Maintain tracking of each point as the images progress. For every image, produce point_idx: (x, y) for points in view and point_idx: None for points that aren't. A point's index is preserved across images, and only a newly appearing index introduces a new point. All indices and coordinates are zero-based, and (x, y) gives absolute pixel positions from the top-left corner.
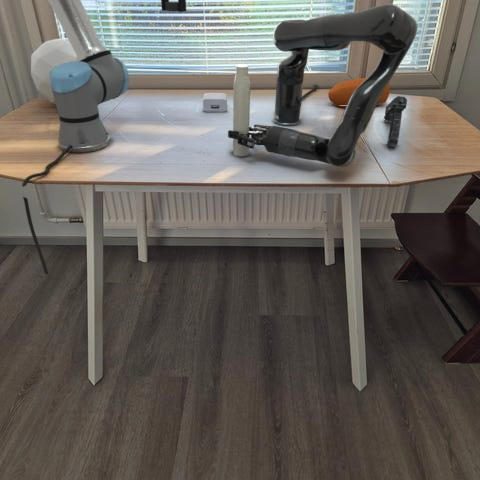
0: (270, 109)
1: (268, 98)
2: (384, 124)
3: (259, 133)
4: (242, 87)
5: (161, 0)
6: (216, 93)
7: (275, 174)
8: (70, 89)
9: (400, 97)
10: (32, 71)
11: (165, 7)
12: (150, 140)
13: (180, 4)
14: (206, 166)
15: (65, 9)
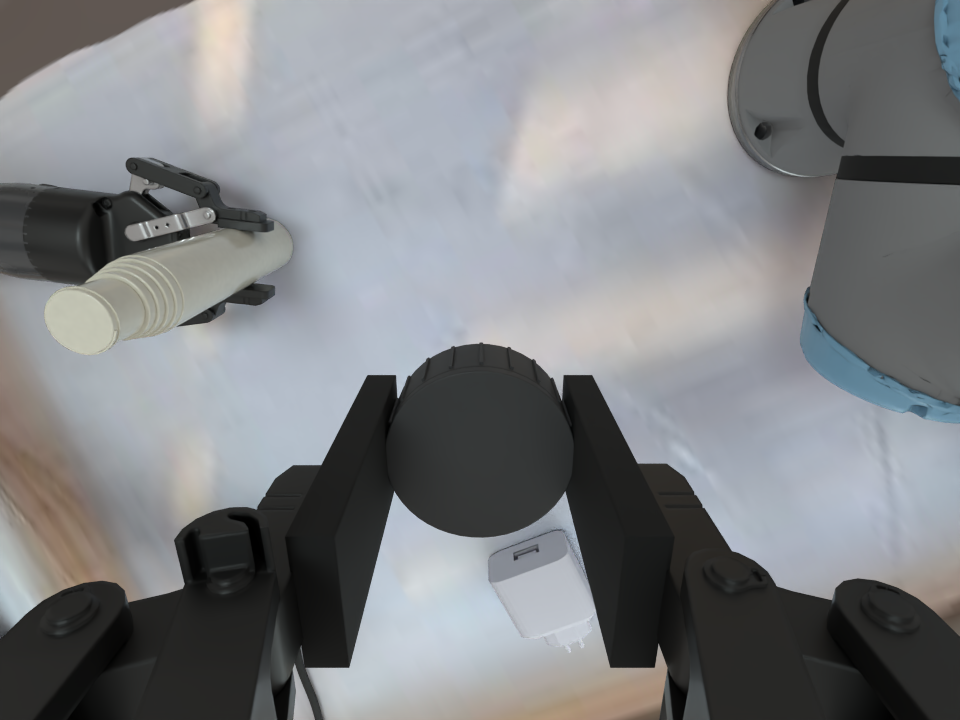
0: (371, 624)
1: (424, 707)
2: None
3: (134, 224)
4: (112, 261)
5: (607, 414)
6: (552, 625)
7: (84, 131)
8: None
9: None
10: None
11: (547, 381)
12: (605, 219)
13: (358, 401)
14: (310, 90)
15: None
